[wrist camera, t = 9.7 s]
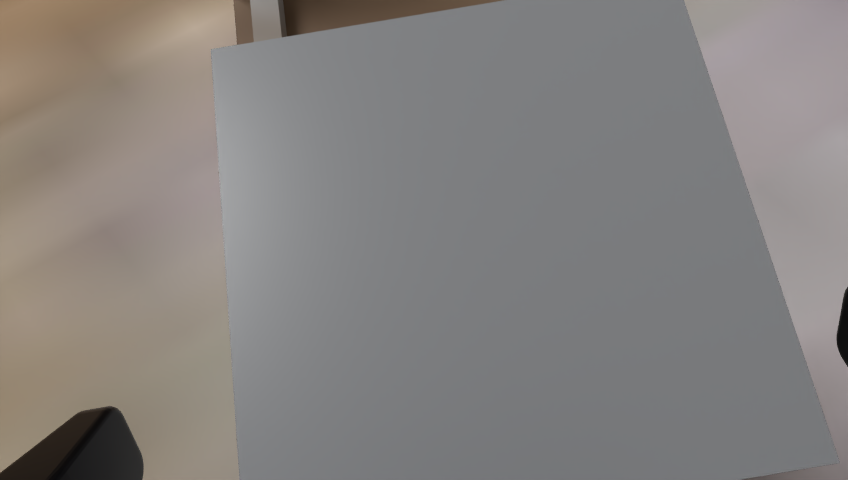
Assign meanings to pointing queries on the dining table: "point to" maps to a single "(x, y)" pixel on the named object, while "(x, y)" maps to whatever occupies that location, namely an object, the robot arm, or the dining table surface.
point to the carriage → (500, 255)
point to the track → (325, 14)
